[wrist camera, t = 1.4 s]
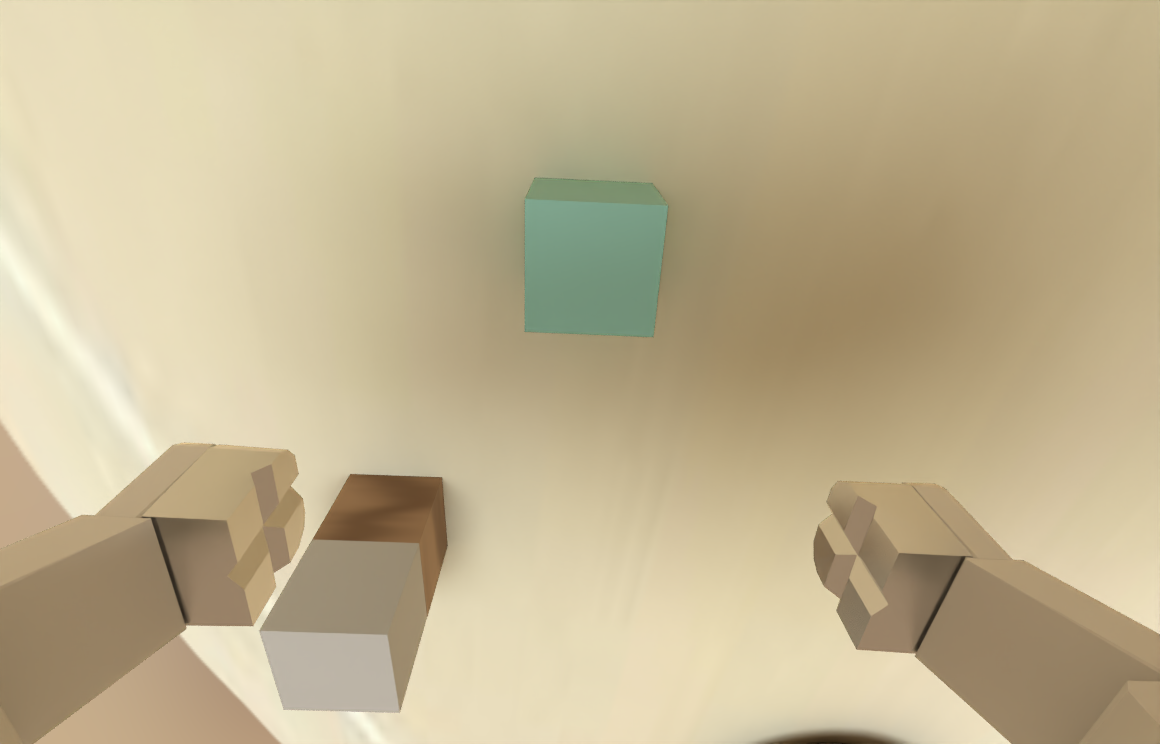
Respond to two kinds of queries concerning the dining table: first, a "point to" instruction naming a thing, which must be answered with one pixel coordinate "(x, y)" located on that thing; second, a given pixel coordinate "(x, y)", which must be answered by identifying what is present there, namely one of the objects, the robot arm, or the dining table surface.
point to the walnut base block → (392, 517)
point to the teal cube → (593, 256)
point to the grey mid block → (347, 627)
